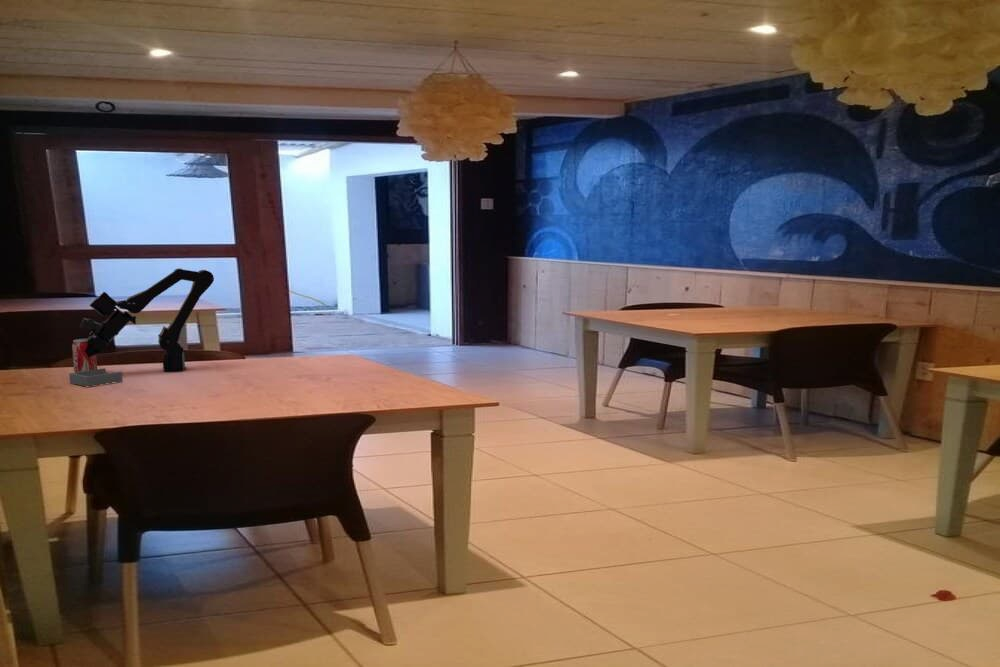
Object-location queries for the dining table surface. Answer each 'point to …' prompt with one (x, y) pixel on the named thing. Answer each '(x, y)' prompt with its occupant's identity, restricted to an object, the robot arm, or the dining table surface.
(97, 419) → the dining table surface
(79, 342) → the soda can
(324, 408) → the dining table surface
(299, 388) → the dining table surface
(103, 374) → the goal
